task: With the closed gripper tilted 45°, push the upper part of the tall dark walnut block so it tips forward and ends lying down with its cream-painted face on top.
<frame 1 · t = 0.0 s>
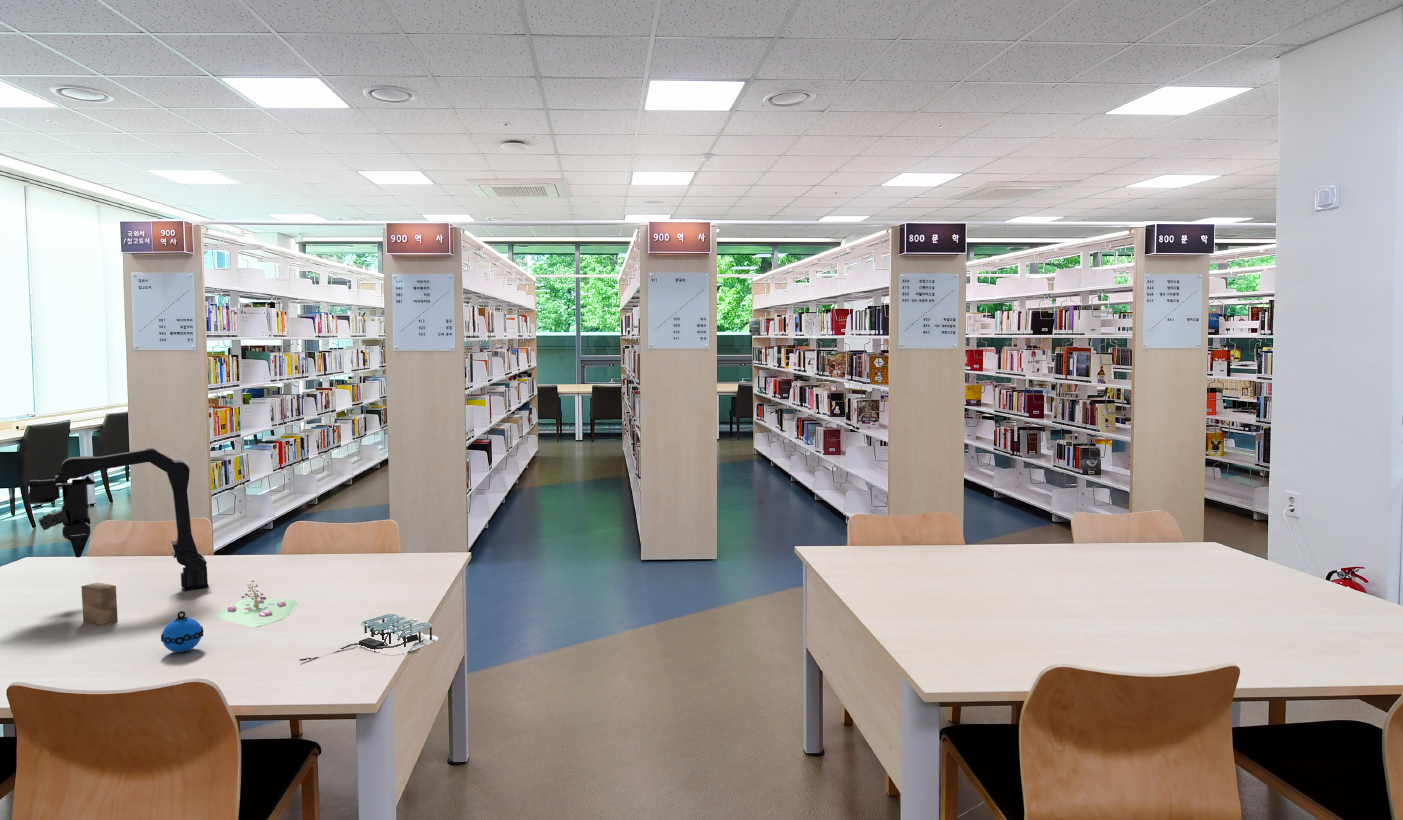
hand: (78, 554, 234), 15 cm above the table, tool pointing down, fingers open, 9 cm apart
walnut block: (100, 622, 220), on the table
plant: (260, 615, 228), on the table
ornament: (183, 652, 198), on the table
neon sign: (368, 651, 201), on the table
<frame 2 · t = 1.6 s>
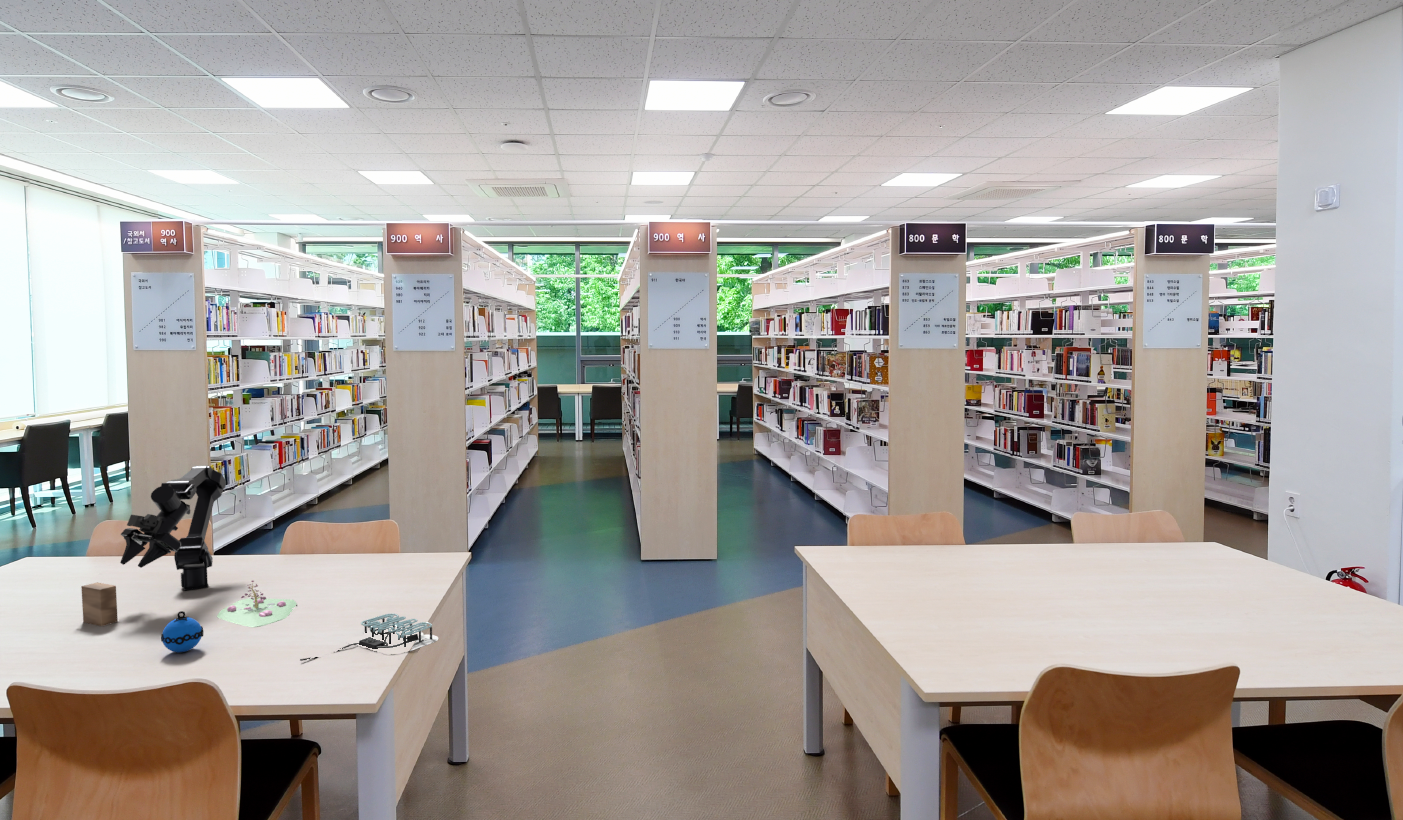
hand: (130, 565, 227), 13 cm above the table, tool tilted 45°, fingers open, 7 cm apart
nothing on the table moved.
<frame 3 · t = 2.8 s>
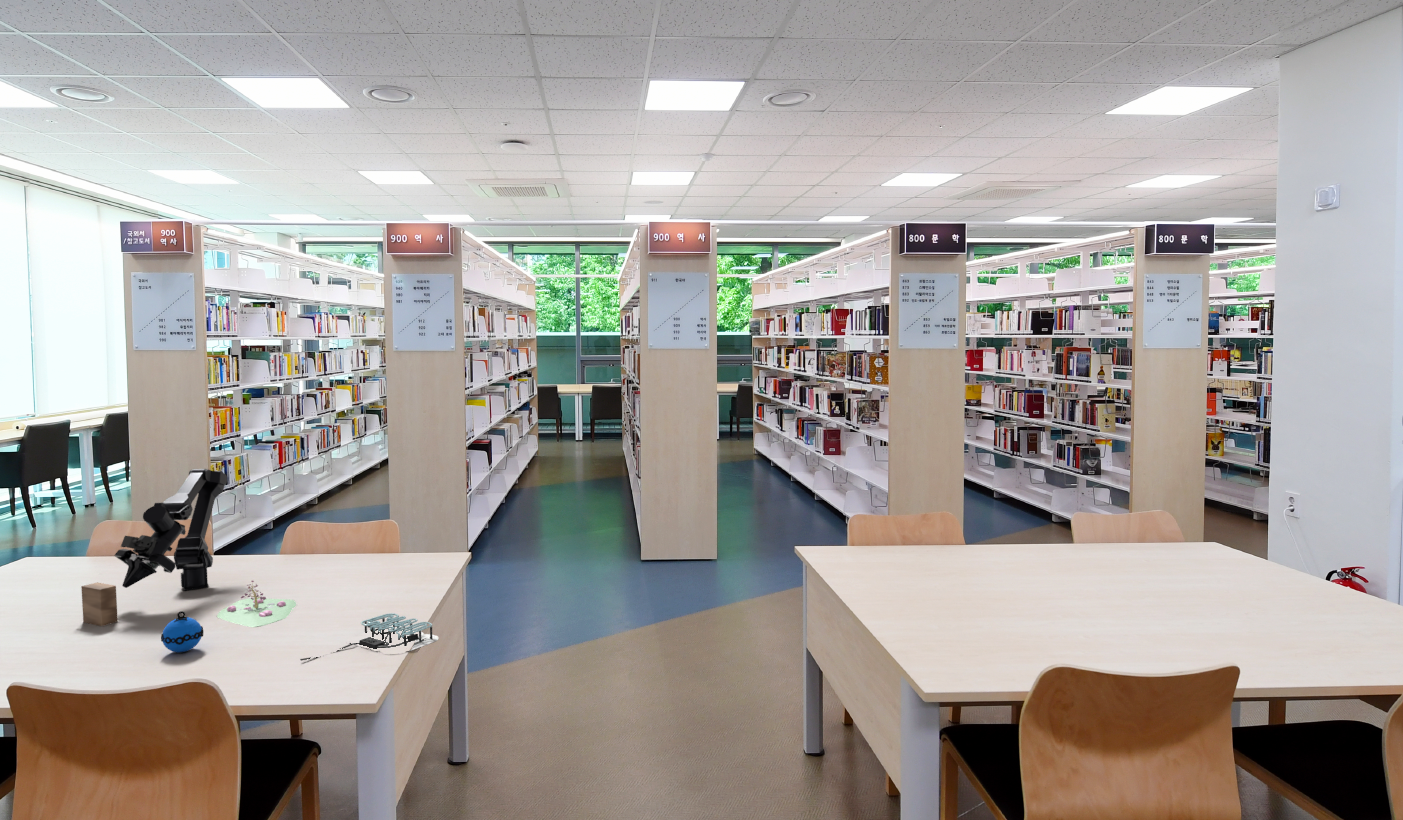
hand: (124, 586, 225), 8 cm above the table, tool tilted 45°, fingers closed
nothing on the table moved.
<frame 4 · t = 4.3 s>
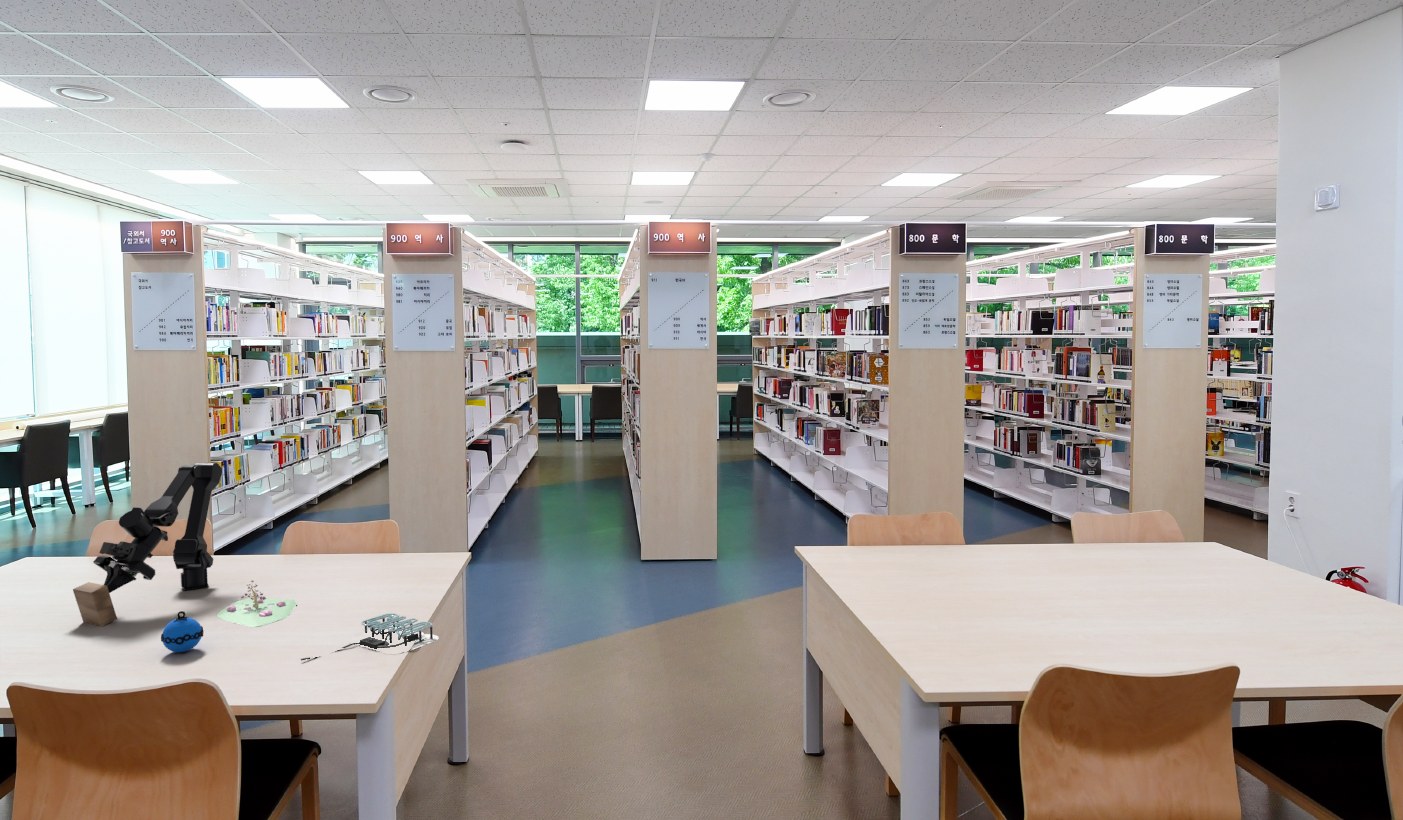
hand: (102, 594, 220), 7 cm above the table, tool tilted 45°, fingers closed, pressing on walnut block
walnut block: (100, 620, 220), on the table, tilted 12°, touching gripper
everything else where it was.
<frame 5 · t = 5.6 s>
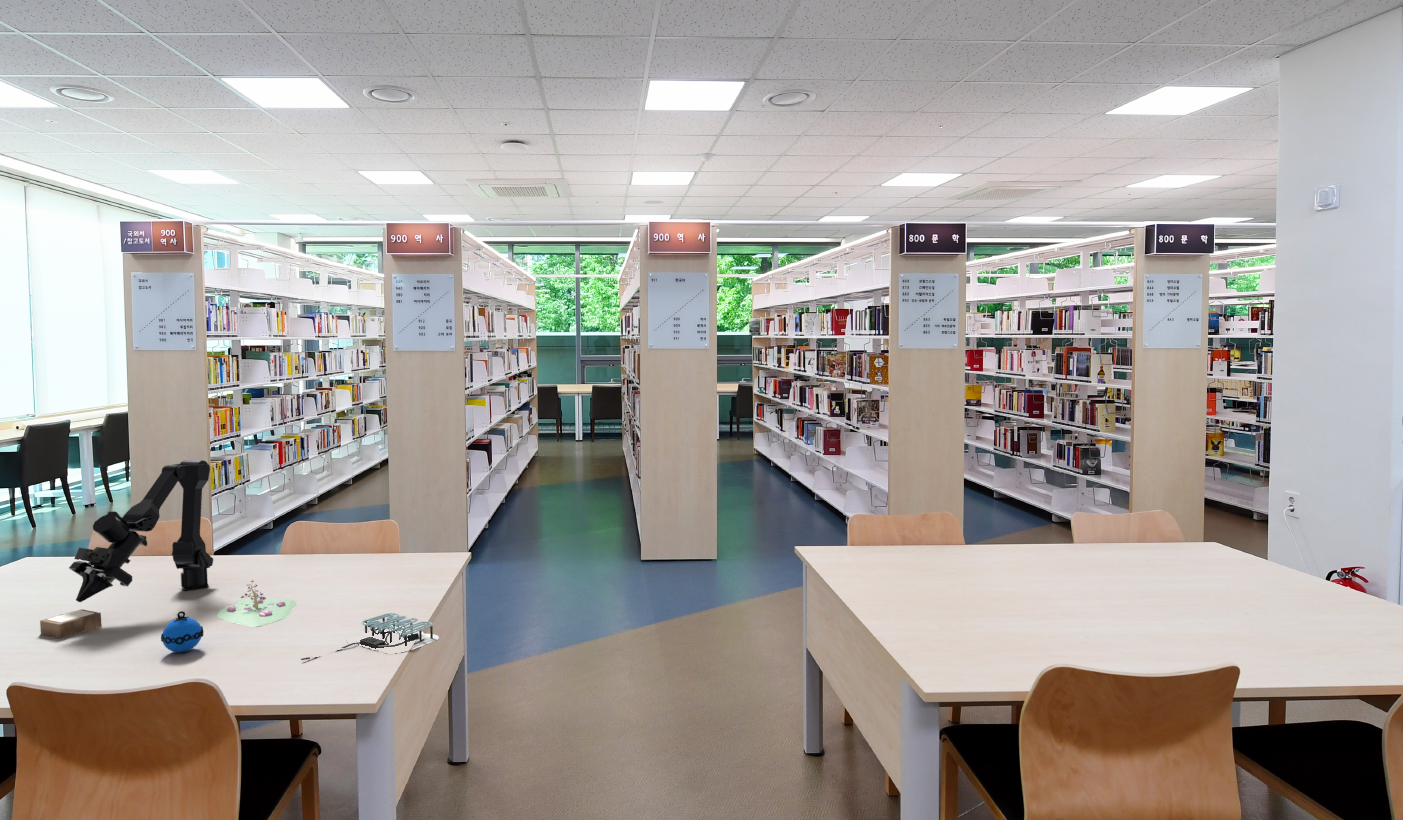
hand: (77, 601, 215), 7 cm above the table, tool tilted 45°, fingers closed
walnut block: (91, 618, 218), point 2 cm above the table, tilted 90°
everything else where it was.
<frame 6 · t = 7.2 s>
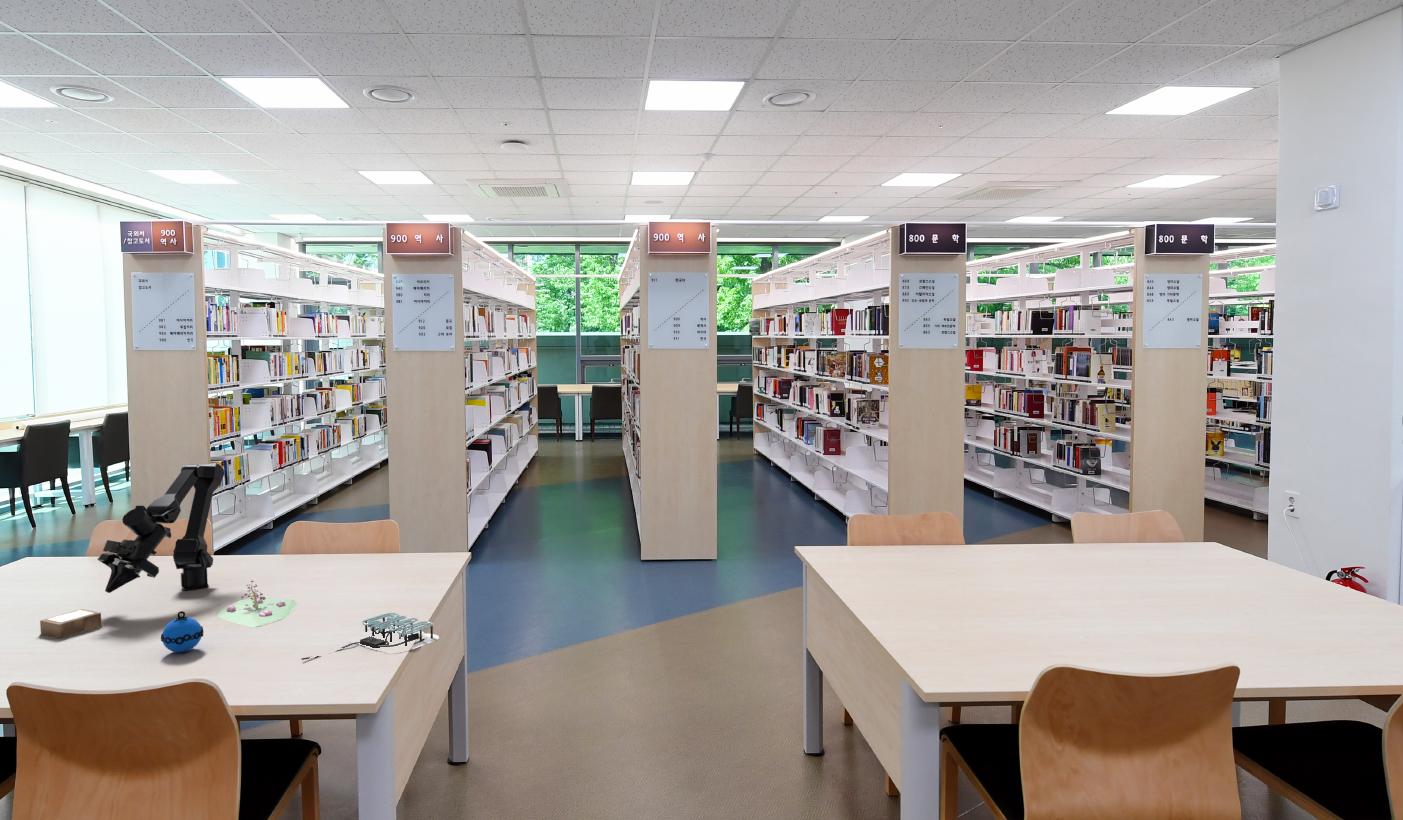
hand: (107, 592, 221), 8 cm above the table, tool tilted 45°, fingers closed
nothing on the table moved.
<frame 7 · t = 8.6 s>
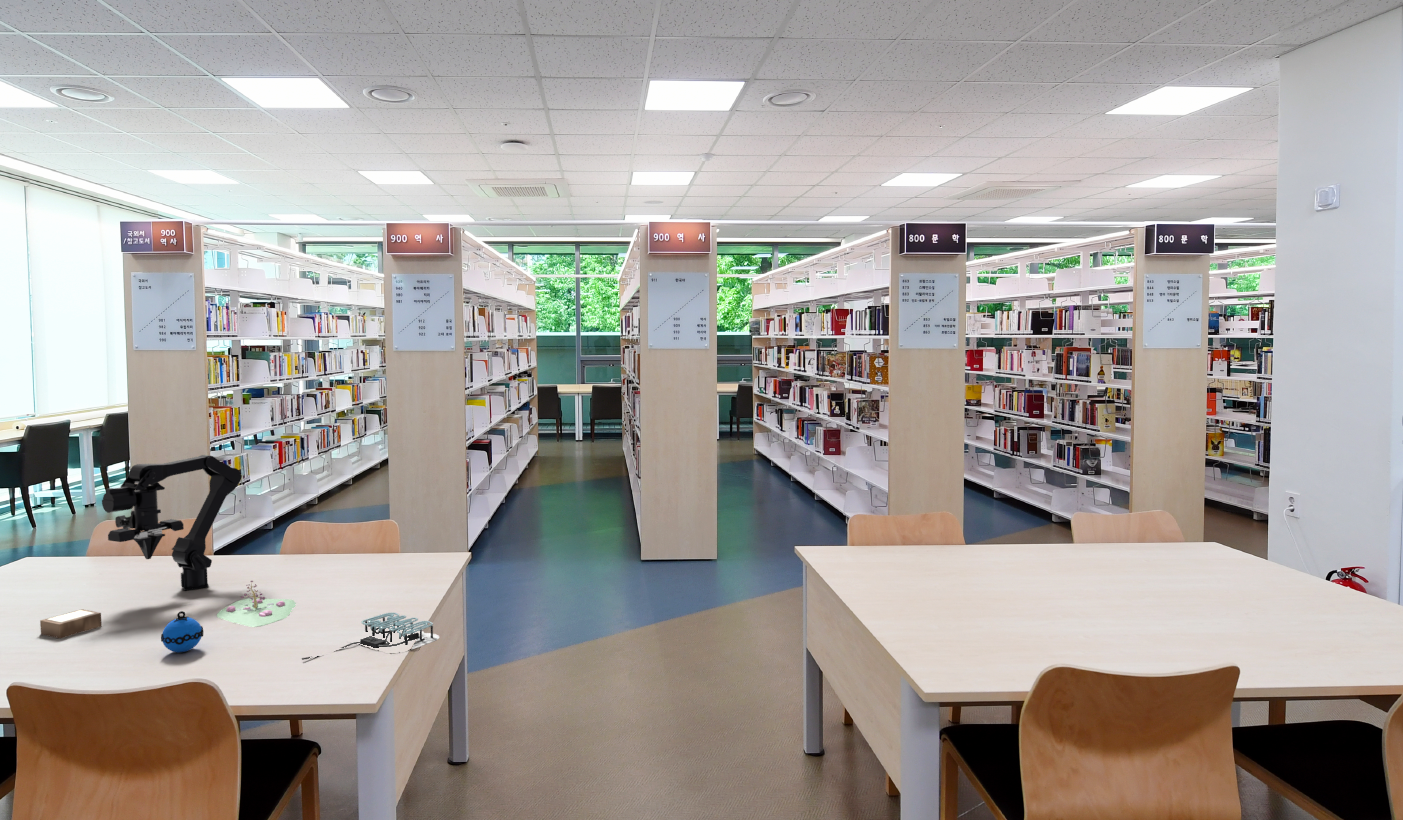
hand: (148, 559, 240), 12 cm above the table, tool pointing down, fingers closed
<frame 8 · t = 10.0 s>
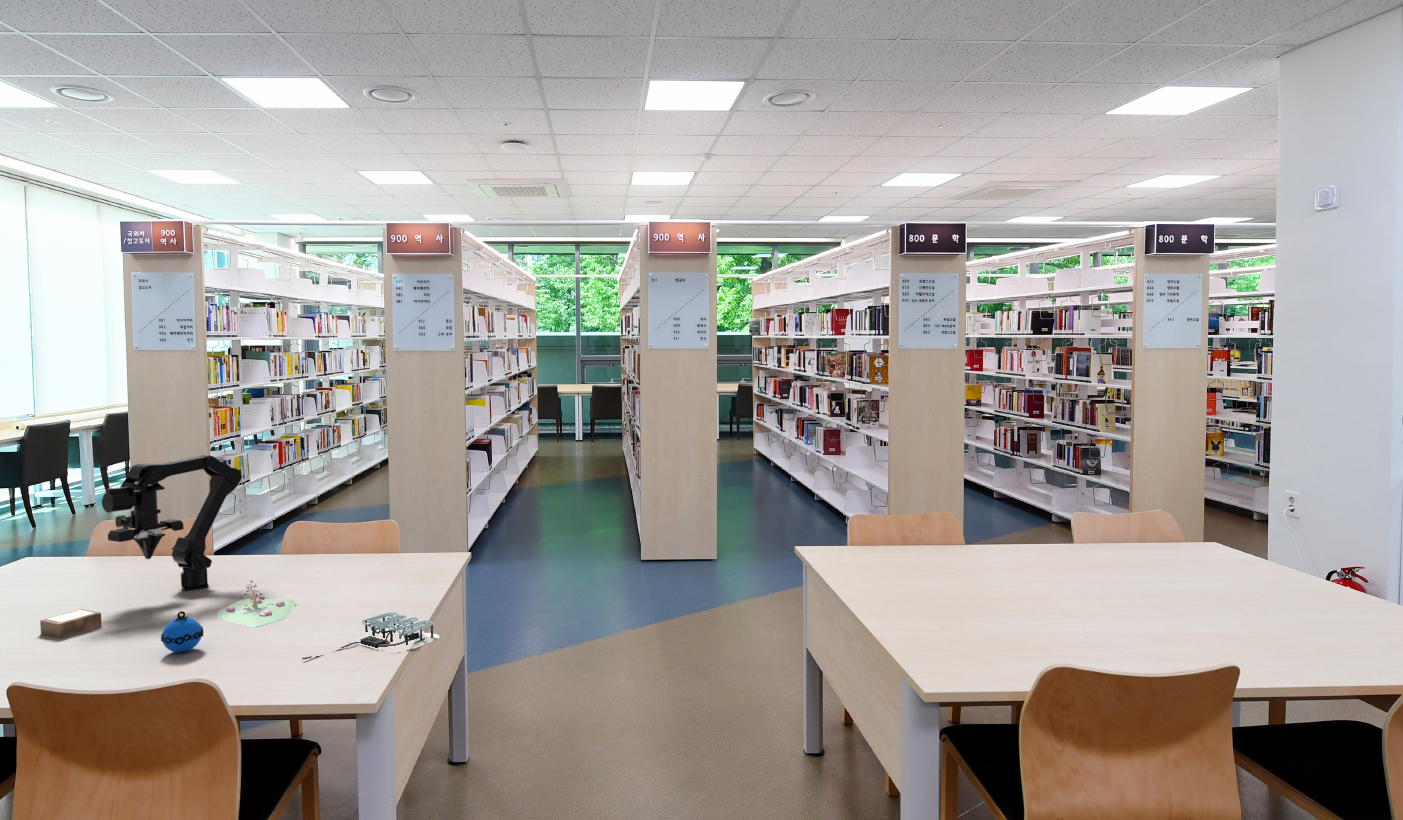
hand: (148, 558, 240), 12 cm above the table, tool pointing down, fingers closed
at the end: walnut block tilted 90°; walnut block inside the target area (1.3 cm from its centre), point 1.6 cm above the table; the gripper is holding nothing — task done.
